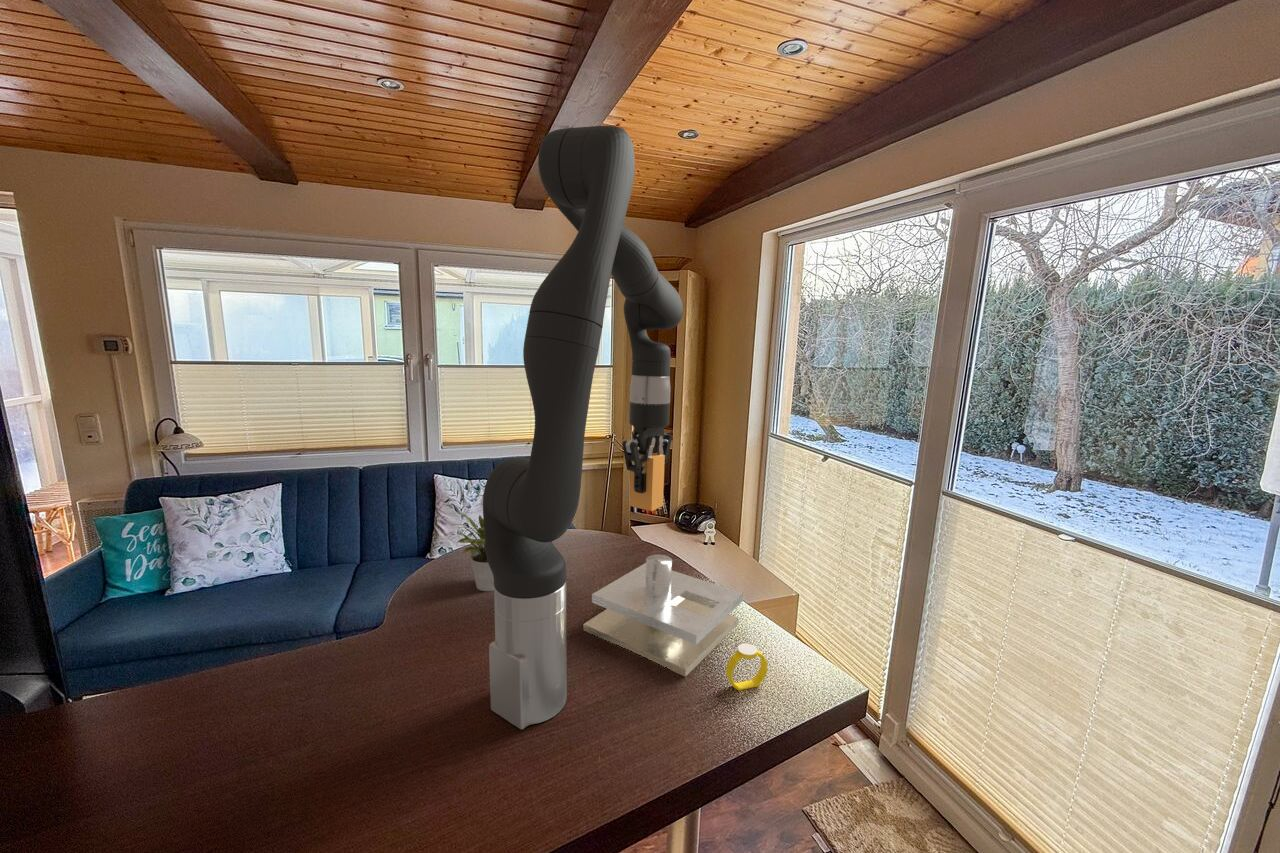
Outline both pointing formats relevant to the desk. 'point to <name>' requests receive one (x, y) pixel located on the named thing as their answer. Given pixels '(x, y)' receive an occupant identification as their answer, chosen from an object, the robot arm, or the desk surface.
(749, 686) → the watch
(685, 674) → the two-tier square platform
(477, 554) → the house plant
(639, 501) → the orange rectangular prism
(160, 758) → the desk surface
